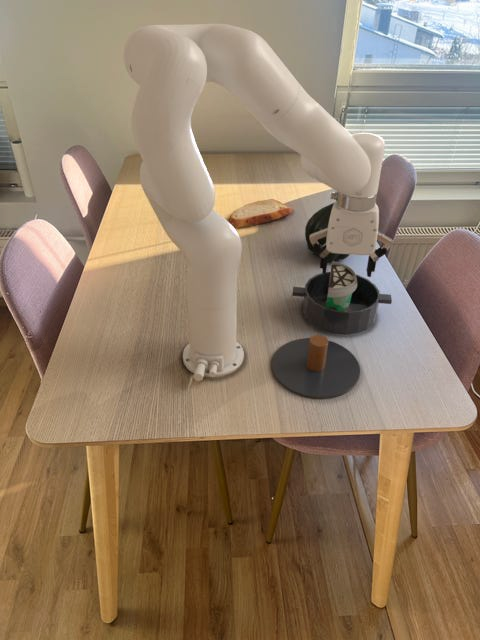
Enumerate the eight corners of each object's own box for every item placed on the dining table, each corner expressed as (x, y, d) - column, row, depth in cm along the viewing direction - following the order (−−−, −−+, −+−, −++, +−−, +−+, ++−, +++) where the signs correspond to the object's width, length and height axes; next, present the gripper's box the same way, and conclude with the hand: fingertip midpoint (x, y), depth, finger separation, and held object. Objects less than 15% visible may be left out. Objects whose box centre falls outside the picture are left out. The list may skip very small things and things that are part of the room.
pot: (390, 340, 112) (396, 316, 108) (289, 331, 114) (291, 307, 110) (383, 297, 125) (388, 275, 121) (293, 290, 127) (294, 268, 123)
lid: (361, 405, 96) (368, 375, 92) (267, 395, 98) (269, 366, 93) (357, 345, 110) (362, 317, 105) (275, 338, 112) (277, 310, 107)
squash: (307, 252, 131) (348, 207, 127) (287, 228, 143) (324, 186, 139) (342, 279, 139) (381, 237, 134) (320, 254, 150) (356, 214, 146)
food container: (351, 330, 114) (358, 292, 108) (323, 326, 115) (328, 289, 109) (352, 299, 123) (359, 263, 117) (327, 296, 124) (332, 260, 118)
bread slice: (225, 227, 154) (225, 215, 152) (239, 202, 168) (239, 191, 166) (284, 234, 151) (285, 222, 148) (294, 208, 165) (295, 197, 162)
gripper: (312, 204, 100) (306, 278, 111) (403, 209, 98) (388, 284, 109) (313, 189, 106) (307, 260, 117) (399, 193, 104) (385, 266, 115)
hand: (346, 272), depth 113 cm, fingers open, 9 cm apart
